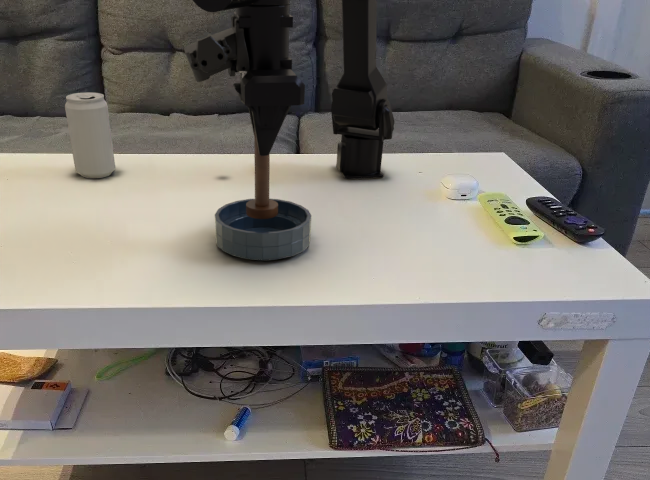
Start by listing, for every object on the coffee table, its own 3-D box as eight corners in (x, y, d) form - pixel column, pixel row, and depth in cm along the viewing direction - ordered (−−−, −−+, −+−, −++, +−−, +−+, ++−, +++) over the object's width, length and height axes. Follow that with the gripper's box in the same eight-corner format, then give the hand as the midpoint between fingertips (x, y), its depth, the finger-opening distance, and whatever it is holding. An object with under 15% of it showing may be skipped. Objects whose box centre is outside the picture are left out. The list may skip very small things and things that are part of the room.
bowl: (300, 224, 92) (301, 196, 89) (318, 261, 82) (319, 230, 79) (212, 229, 90) (211, 200, 88) (220, 267, 80) (219, 235, 78)
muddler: (275, 206, 85) (276, 115, 79) (280, 218, 82) (281, 124, 76) (244, 208, 85) (242, 116, 79) (248, 220, 82) (247, 125, 75)
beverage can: (87, 182, 105) (75, 102, 98) (68, 172, 109) (55, 94, 102) (123, 174, 108) (114, 96, 102) (103, 165, 112) (93, 89, 106)
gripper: (182, -5, 77) (190, 134, 86) (190, 14, 62) (199, 180, 71) (277, -6, 79) (276, 131, 87) (308, 13, 63) (302, 176, 72)
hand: (262, 152), depth 79 cm, fingers closed on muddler, 2 cm apart
